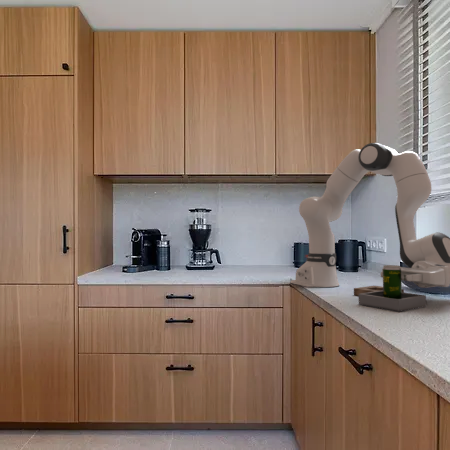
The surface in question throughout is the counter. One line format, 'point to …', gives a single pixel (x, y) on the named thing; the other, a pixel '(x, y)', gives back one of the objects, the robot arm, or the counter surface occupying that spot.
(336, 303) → the counter surface
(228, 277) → the counter surface
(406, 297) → the tray
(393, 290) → the beer can
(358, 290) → the brown square board
